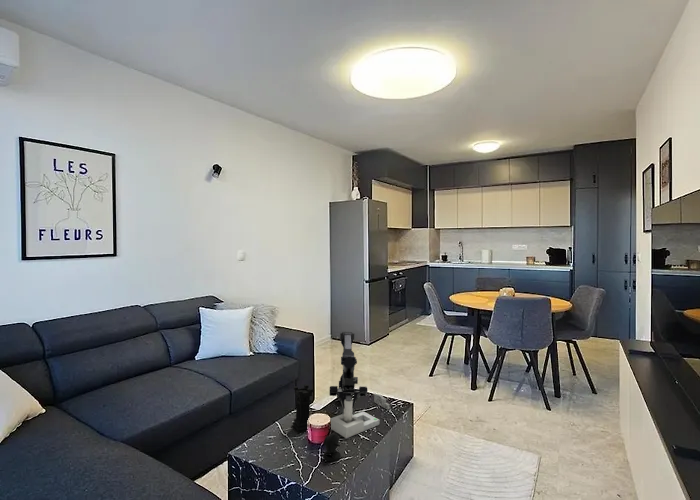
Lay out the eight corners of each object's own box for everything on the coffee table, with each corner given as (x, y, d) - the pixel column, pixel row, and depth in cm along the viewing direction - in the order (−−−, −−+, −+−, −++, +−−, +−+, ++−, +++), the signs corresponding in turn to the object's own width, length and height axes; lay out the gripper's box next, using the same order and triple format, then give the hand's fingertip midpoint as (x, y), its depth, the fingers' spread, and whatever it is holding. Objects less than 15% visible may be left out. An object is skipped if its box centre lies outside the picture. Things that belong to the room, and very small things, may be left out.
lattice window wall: (389, 409, 213) (390, 398, 213) (387, 410, 212) (387, 399, 212) (375, 401, 223) (376, 391, 222) (373, 402, 222) (373, 392, 221)
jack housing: (330, 428, 189) (330, 418, 189) (363, 416, 204) (363, 406, 204) (346, 438, 180) (346, 427, 180) (379, 424, 195) (379, 414, 195)
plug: (341, 420, 189) (342, 395, 188) (348, 417, 192) (349, 393, 191) (347, 423, 186) (348, 398, 185) (353, 421, 188) (354, 396, 188)
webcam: (330, 450, 170) (330, 427, 169) (344, 455, 166) (344, 432, 165) (319, 458, 163) (319, 434, 163) (333, 464, 159) (334, 440, 159)
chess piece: (297, 434, 182) (299, 392, 182) (291, 427, 189) (292, 386, 189) (313, 430, 187) (314, 389, 186) (306, 423, 193) (307, 384, 193)
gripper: (330, 370, 191) (329, 401, 181) (367, 370, 192) (369, 402, 182) (329, 380, 200) (328, 410, 189) (366, 380, 200) (367, 411, 190)
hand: (348, 408), depth 187 cm, fingers closed on plug, 4 cm apart
